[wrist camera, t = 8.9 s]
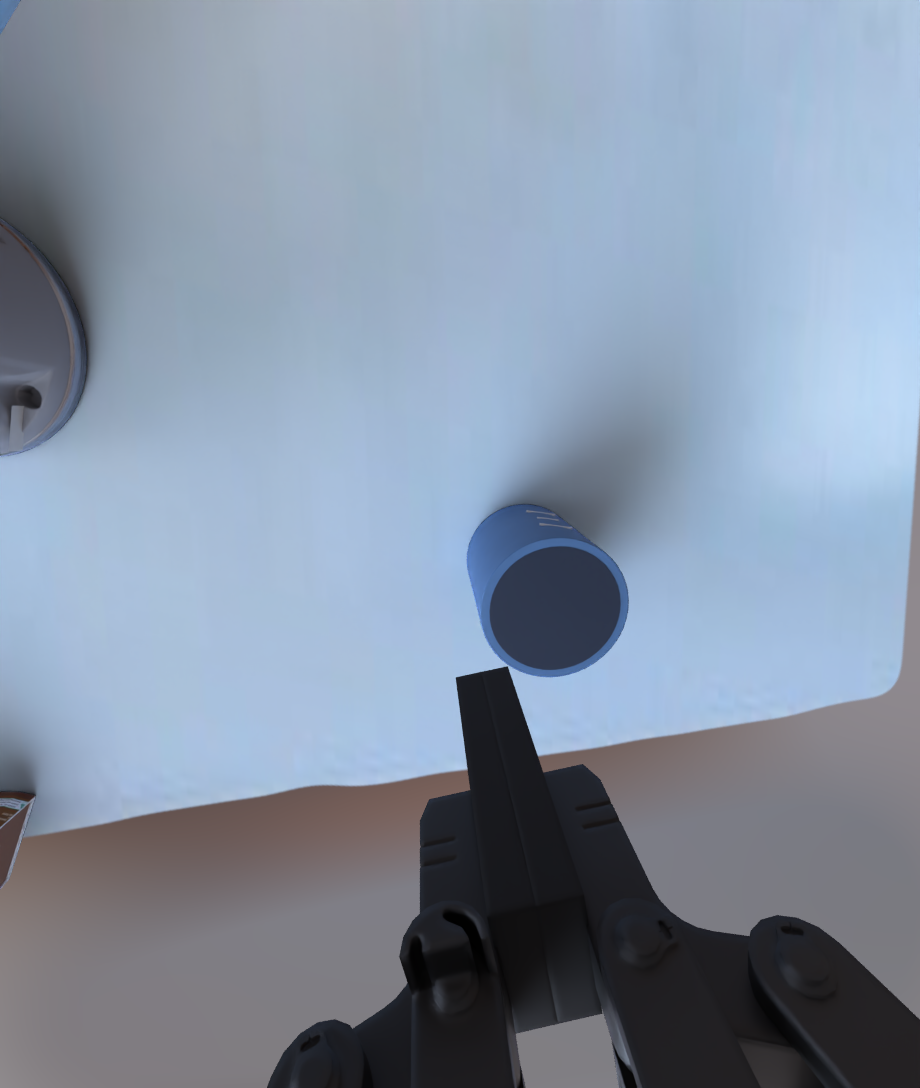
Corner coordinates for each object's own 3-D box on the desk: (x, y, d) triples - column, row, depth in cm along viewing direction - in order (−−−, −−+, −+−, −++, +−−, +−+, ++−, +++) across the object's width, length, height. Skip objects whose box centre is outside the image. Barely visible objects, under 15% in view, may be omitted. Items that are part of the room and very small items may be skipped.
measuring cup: (564, 615, 38) (459, 603, 37) (586, 511, 36) (475, 496, 35) (610, 684, 28) (469, 670, 27) (645, 547, 26) (493, 528, 25)
